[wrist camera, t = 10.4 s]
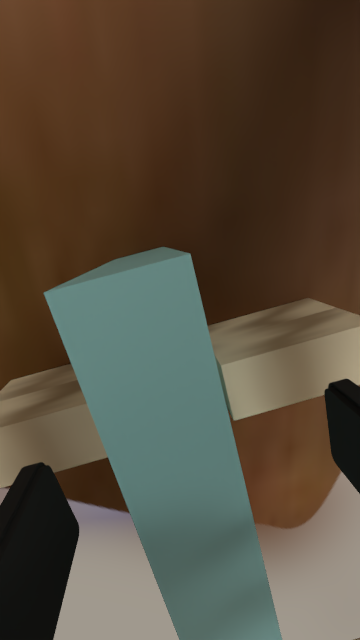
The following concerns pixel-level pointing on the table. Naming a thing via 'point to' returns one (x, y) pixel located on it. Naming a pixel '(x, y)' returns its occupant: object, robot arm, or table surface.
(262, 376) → the slotted board
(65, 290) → the cross plate
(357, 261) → the table surface
